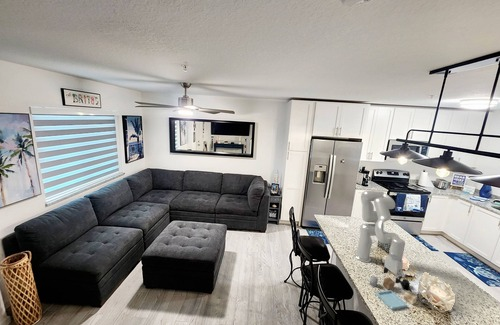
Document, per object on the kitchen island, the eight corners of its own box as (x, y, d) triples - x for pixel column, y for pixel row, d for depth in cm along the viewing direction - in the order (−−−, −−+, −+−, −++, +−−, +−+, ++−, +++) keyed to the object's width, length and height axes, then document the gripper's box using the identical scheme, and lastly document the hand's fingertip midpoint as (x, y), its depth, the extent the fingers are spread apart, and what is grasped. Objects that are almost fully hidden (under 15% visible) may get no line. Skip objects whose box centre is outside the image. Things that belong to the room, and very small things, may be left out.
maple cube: (403, 299, 138) (404, 292, 137) (407, 296, 141) (408, 290, 140) (411, 305, 134) (413, 298, 133) (415, 302, 136) (417, 296, 135)
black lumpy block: (396, 279, 157) (398, 273, 156) (408, 282, 155) (409, 276, 154) (402, 291, 146) (403, 285, 145) (414, 294, 143) (416, 288, 142)
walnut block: (382, 285, 149) (384, 278, 148) (387, 284, 150) (389, 277, 149) (388, 290, 145) (389, 283, 144) (393, 289, 146) (395, 282, 145)
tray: (376, 294, 141) (376, 292, 140) (390, 292, 143) (391, 290, 143) (391, 310, 129) (391, 307, 129) (406, 307, 132) (407, 305, 132)
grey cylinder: (368, 282, 151) (369, 276, 150) (373, 281, 152) (374, 276, 151) (372, 287, 147) (374, 281, 146) (378, 286, 148) (379, 280, 147)
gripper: (380, 248, 150) (376, 269, 153) (402, 264, 133) (397, 287, 136) (389, 248, 151) (385, 268, 154) (412, 263, 135) (407, 286, 138)
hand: (391, 277), depth 145 cm, fingers open, 9 cm apart
